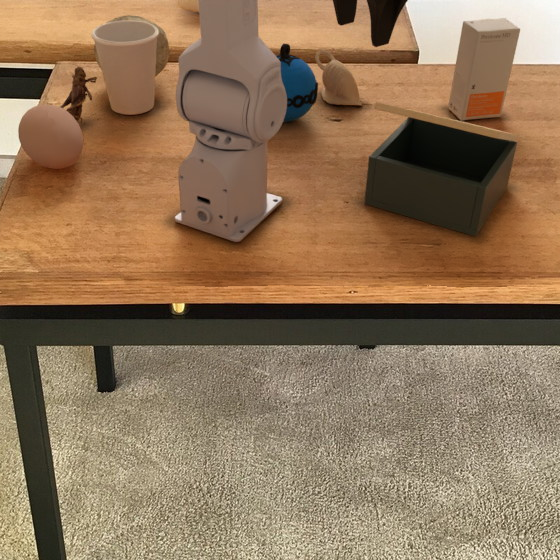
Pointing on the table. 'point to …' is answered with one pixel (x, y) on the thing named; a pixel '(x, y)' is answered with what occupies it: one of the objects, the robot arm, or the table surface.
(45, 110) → the egg
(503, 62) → the cosmetic box
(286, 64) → the ornament
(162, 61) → the sculpture
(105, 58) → the dixie cup
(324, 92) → the decorative ornament
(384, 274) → the table surface
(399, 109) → the lid
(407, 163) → the chest
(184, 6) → the cup
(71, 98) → the insect
